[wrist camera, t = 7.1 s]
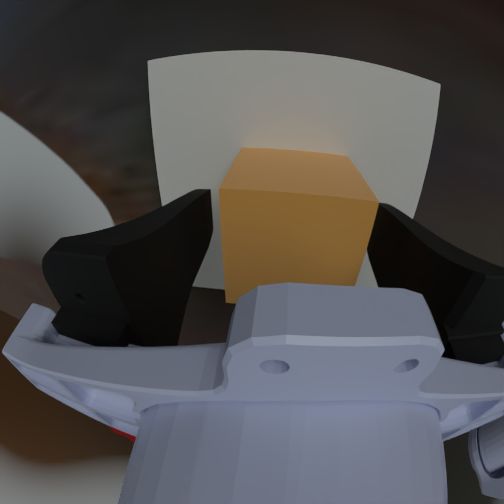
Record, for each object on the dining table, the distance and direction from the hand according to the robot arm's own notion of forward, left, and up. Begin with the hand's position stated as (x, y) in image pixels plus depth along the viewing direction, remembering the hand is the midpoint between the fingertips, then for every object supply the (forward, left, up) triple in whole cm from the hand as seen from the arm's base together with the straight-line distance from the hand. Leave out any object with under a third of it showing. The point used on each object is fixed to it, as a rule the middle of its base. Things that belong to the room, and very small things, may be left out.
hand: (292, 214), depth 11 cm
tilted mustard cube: (0, 0, -2) cm, 2 cm away
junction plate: (0, 0, -3) cm, 3 cm away
